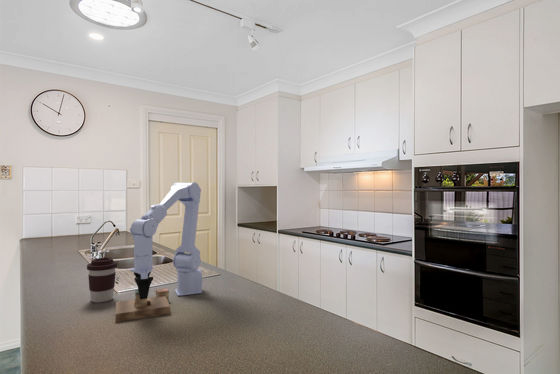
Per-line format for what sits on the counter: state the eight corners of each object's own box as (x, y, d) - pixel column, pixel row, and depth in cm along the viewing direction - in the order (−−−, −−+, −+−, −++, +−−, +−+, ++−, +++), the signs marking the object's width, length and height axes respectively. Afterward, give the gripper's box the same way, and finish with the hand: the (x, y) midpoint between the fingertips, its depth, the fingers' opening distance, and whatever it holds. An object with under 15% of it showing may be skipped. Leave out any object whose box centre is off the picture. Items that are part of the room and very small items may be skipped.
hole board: (165, 302, 118) (165, 295, 118) (169, 313, 107) (169, 306, 107) (116, 309, 111) (116, 301, 111) (115, 322, 100) (115, 313, 100)
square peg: (146, 309, 112) (146, 288, 112) (146, 312, 108) (147, 291, 108) (134, 310, 110) (135, 289, 110) (135, 314, 107) (135, 292, 107)
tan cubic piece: (165, 299, 122) (165, 288, 122) (168, 301, 120) (168, 290, 120) (155, 301, 120) (155, 289, 120) (158, 303, 117) (159, 292, 117)
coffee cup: (103, 305, 115) (104, 262, 115) (79, 303, 117) (80, 261, 117) (122, 296, 125) (123, 257, 125) (100, 294, 127) (100, 256, 127)
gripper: (129, 251, 114) (129, 290, 114) (130, 260, 101) (130, 303, 101) (151, 250, 117) (151, 288, 117) (154, 258, 104) (154, 300, 104)
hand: (143, 295), depth 110 cm, fingers open, 7 cm apart
